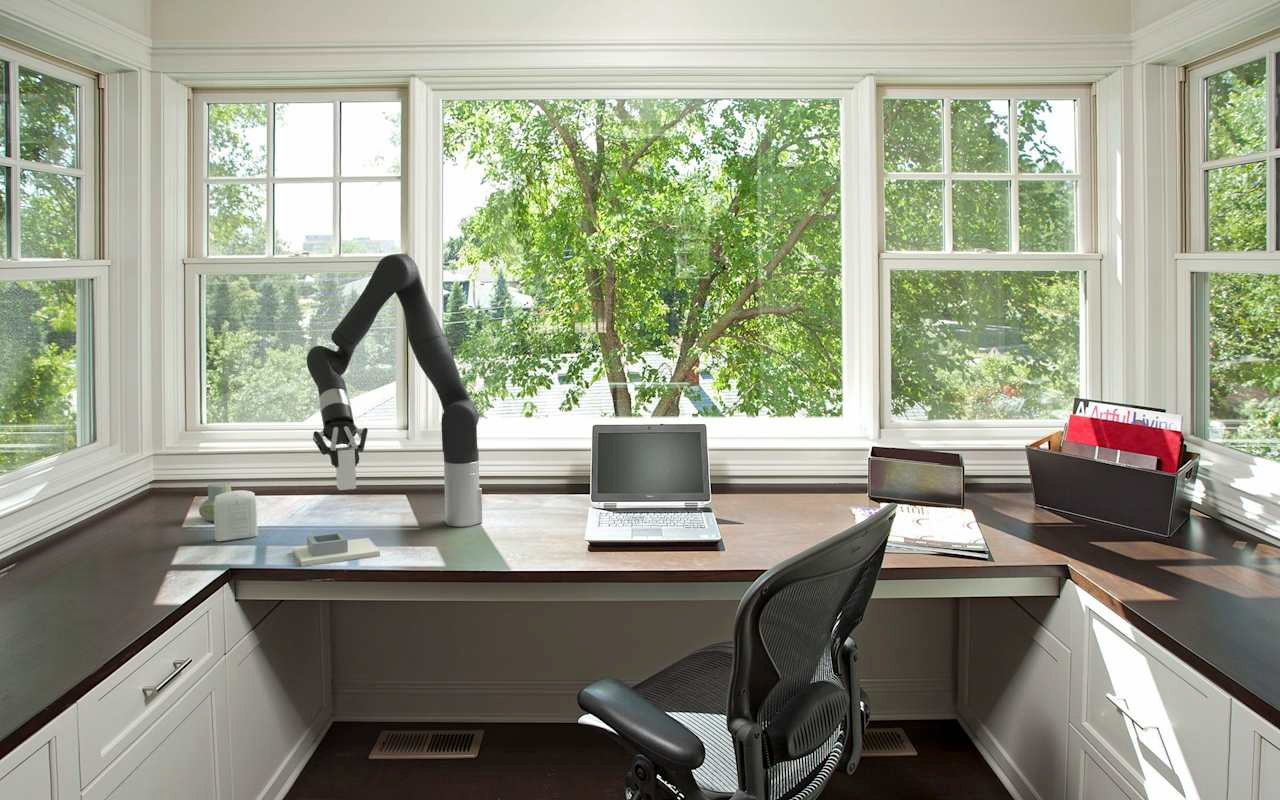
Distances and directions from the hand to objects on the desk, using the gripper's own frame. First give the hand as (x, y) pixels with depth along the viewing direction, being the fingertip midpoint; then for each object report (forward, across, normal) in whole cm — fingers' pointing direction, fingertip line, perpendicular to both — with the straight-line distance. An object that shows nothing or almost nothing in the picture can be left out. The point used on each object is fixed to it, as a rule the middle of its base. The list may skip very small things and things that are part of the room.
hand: (346, 464), depth 241 cm
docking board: (+20, -5, +8) cm, 22 cm away
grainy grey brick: (+4, 0, +5) cm, 6 cm away
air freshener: (-13, -28, +42) cm, 52 cm away
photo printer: (+2, -25, +26) cm, 36 cm away
